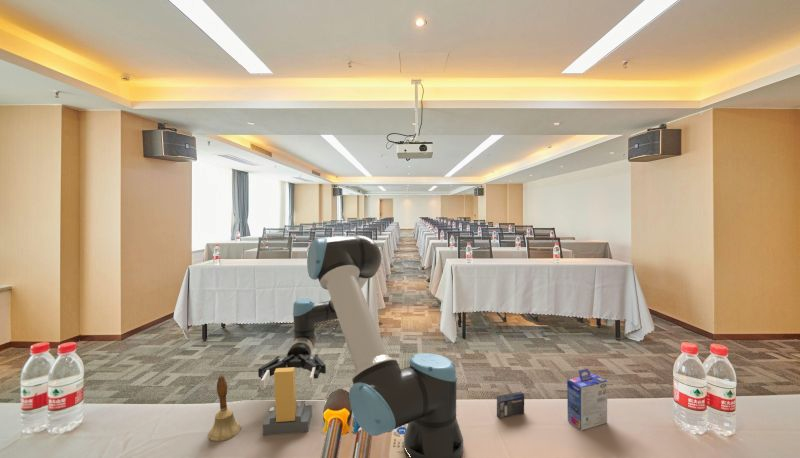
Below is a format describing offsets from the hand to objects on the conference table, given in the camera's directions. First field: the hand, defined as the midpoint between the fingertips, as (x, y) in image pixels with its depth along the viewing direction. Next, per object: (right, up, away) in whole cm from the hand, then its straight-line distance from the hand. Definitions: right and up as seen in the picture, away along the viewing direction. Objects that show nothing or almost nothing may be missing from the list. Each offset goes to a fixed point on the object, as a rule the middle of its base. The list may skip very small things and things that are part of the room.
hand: (286, 383), depth 102 cm
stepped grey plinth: (+1, -11, -1) cm, 11 cm away
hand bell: (-16, -12, -3) cm, 20 cm away
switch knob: (+1, -8, -3) cm, 9 cm away
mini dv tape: (+65, -11, +3) cm, 66 cm away
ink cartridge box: (+85, -10, -1) cm, 86 cm away
